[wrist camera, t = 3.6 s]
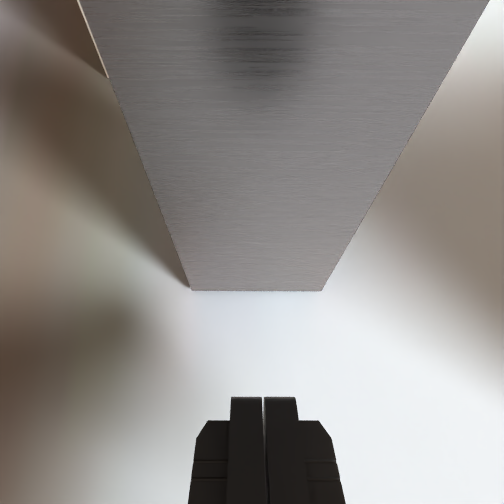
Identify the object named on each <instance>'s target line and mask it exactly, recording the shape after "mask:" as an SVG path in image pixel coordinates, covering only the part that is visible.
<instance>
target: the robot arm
mask: <svg viewBox="0 0 504 504" xmlns="http://www.w3.org/2000/svg"><path fill="white" fill-rule="evenodd" d="M188 504H346V503H345V499H344V494H343V489H342V485H341V482H340V476H339V471H338V466H337V464H336V457H335V453H334V448H333V443H332V439H331V437H330V436H329V434H328V433H327V432H326V430H325V429H324V428H323V426H322V425H321V423H320V422H319V421H299V419H298V412H297V405H296V399H295V397H264V411H263V412H262V397H231V410H230V421H211V420H208V421H207V423H206V424H205V426H204V427H203V429H202V430H201V432H200V434H199V435H198V437H197V438H196V445H195V453H194V463H193V468H192V476H191V484H190V491H189V499H188Z"/></svg>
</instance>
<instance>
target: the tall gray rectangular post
mask: <svg viewBox="0 0 504 504" xmlns="http://www.w3.org/2000/svg"><path fill="white" fill-rule="evenodd" d="M489 1H490V0H79V2H80V4H81V7H82V9H83V12H84V14H85V17H86V20H87V22H88V25H89V27H90V30H91V32H92V35H93V38H94V40H95V43H96V45H97V48H98V50H99V53H100V56H101V58H102V61H103V63H104V66H105V68H106V71H107V74H108V76H109V79H110V81H111V84H112V86H113V89H114V92H115V94H116V97H117V99H118V102H119V105H120V107H121V110H122V112H123V115H124V117H125V120H126V123H127V125H128V128H129V130H130V133H131V135H132V138H133V141H134V143H135V146H136V148H137V151H138V153H139V156H140V159H141V161H142V164H143V166H144V169H145V171H146V174H147V177H148V179H149V182H150V184H151V187H152V189H153V192H154V195H155V197H156V200H157V202H158V205H159V208H160V210H161V213H162V215H163V218H164V220H165V223H166V226H167V228H168V231H169V233H170V236H171V238H172V241H173V244H174V246H175V249H176V251H177V254H178V256H179V259H180V262H181V264H182V267H183V269H184V272H185V274H186V277H187V280H188V282H189V285H190V287H191V290H192V291H321V290H322V289H323V287H324V285H325V284H326V282H327V280H328V278H329V277H330V275H331V273H332V272H333V270H334V268H335V266H336V265H337V263H338V261H339V259H340V258H341V256H342V254H343V253H344V251H345V249H346V247H347V246H348V244H349V242H350V240H351V239H352V237H353V235H354V234H355V232H356V230H357V228H358V227H359V225H360V223H361V221H362V220H363V218H364V216H365V215H366V213H367V211H368V209H369V208H370V206H371V204H372V202H373V201H374V199H375V197H376V196H377V194H378V192H379V190H380V189H381V187H382V185H383V183H384V182H385V180H386V178H387V177H388V175H389V173H390V171H391V170H392V168H393V166H394V164H395V163H396V161H397V159H398V158H399V156H400V154H401V152H402V151H403V149H404V147H405V145H406V144H407V142H408V140H409V139H410V137H411V135H412V133H413V132H414V130H415V128H416V127H417V125H418V123H419V121H420V120H421V118H422V116H423V114H424V113H425V111H426V109H427V108H428V106H429V104H430V102H431V101H432V99H433V97H434V95H435V94H436V92H437V90H438V89H439V87H440V85H441V83H442V82H443V80H444V78H445V76H446V75H447V73H448V71H449V70H450V68H451V66H452V64H453V63H454V61H455V59H456V57H457V56H458V54H459V52H460V51H461V49H462V47H463V45H464V44H465V42H466V40H467V38H468V37H469V35H470V33H471V32H472V30H473V28H474V26H475V25H476V23H477V21H478V19H479V18H480V16H481V14H482V13H483V11H484V9H485V7H486V6H487V4H488V2H489Z"/></svg>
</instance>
